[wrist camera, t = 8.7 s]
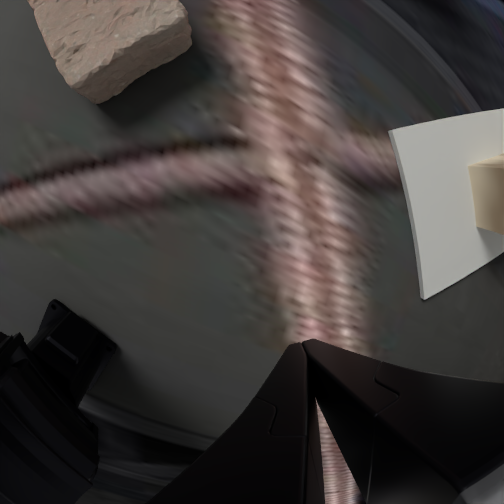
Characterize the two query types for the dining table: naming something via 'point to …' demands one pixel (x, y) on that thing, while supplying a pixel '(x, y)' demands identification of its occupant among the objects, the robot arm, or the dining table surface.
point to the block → (488, 193)
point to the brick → (111, 40)
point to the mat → (447, 194)
